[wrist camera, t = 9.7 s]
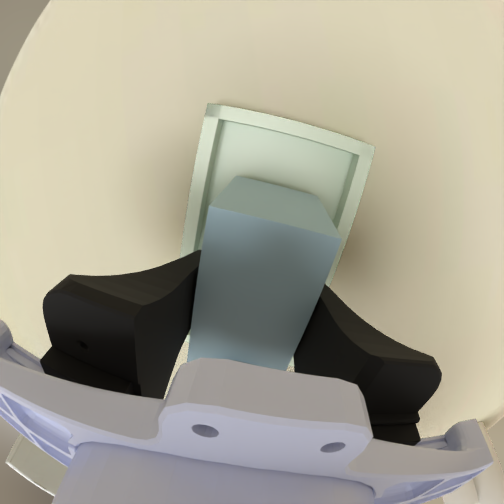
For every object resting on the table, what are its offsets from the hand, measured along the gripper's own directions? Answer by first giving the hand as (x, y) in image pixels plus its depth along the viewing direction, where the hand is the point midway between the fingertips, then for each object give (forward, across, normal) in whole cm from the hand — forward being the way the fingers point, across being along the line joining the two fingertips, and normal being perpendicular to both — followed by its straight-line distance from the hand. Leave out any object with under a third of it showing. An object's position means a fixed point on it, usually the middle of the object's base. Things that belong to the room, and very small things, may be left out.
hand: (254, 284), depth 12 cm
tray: (+5, 0, 0) cm, 5 cm away
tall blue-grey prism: (+3, 0, +1) cm, 3 cm away
